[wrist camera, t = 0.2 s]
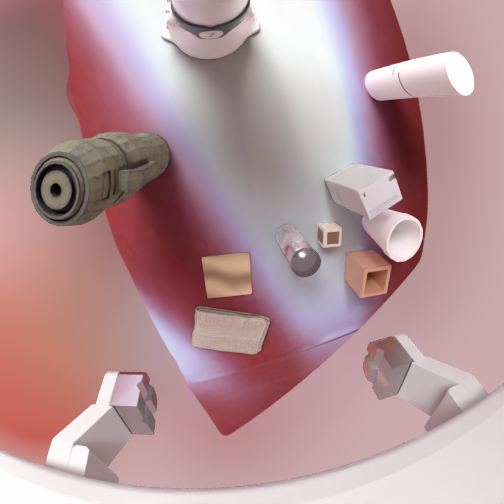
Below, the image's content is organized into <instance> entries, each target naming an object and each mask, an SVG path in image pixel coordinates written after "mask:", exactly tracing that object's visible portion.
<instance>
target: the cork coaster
mask: <svg viewBox="0 0 504 504" xmlns="http://www.w3.org/2000/svg"><path fill="white" fill-rule="evenodd" d="M202 264H203V272H204V279H205V285H206V292H207V298H217V297H227V296H237V295H246V294H252V287H251V270H250V253H249V252H246V253H236V254H226V255H216V256H206V257H202Z"/></svg>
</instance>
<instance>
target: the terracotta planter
mask: <svg viewBox="0 0 504 504" xmlns="http://www.w3.org/2000/svg"><path fill="white" fill-rule="evenodd" d="M391 266H392V265H390V264H389V263H388V262H387V261H386V260H384V259H383V258H382V257H381V256H380V255H378V254H377V253H376V252H375V251H373V250H363V251H354V252H347V255H346V265H345V275H344V279H345V281H346V282H347V283H348V284H349V285H350V287H351V288H352V289H353V290H354V291H355V293H356V294H357V295H358V296H359V297H360V298H365V297H370V296H375V295H380V294H385V293H387V288H388V283H389V278H390V272H391Z"/></svg>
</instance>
